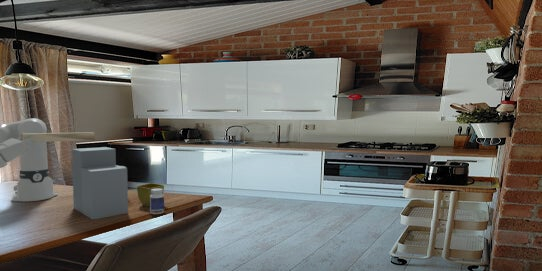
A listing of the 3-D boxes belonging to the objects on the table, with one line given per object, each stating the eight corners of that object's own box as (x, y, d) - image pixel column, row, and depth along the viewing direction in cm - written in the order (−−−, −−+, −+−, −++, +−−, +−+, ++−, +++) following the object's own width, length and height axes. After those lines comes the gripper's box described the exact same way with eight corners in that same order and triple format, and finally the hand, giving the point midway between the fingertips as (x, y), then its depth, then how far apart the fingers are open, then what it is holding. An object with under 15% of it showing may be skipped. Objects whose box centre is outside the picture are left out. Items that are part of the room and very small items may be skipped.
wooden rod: (21, 141, 133) (21, 133, 133) (91, 139, 150) (91, 132, 149) (23, 142, 130) (23, 134, 130) (94, 140, 147) (94, 132, 146)
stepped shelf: (73, 208, 159) (71, 149, 158) (106, 202, 169) (105, 147, 168) (92, 219, 142) (90, 153, 141) (128, 212, 152) (126, 151, 150)
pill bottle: (166, 212, 153) (166, 189, 152) (154, 215, 148) (154, 191, 148) (159, 210, 157) (159, 187, 156) (147, 212, 152) (146, 189, 152)
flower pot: (165, 204, 167) (164, 184, 166) (149, 208, 159) (149, 188, 159) (151, 201, 171) (151, 182, 171) (136, 205, 164) (136, 186, 163)
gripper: (-6, 161, 134) (32, 141, 142) (3, 168, 120) (44, 145, 128) (-17, 147, 132) (22, 128, 140) (-10, 152, 117) (34, 130, 125)
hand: (33, 136), depth 134 cm, fingers closed on wooden rod, 4 cm apart
